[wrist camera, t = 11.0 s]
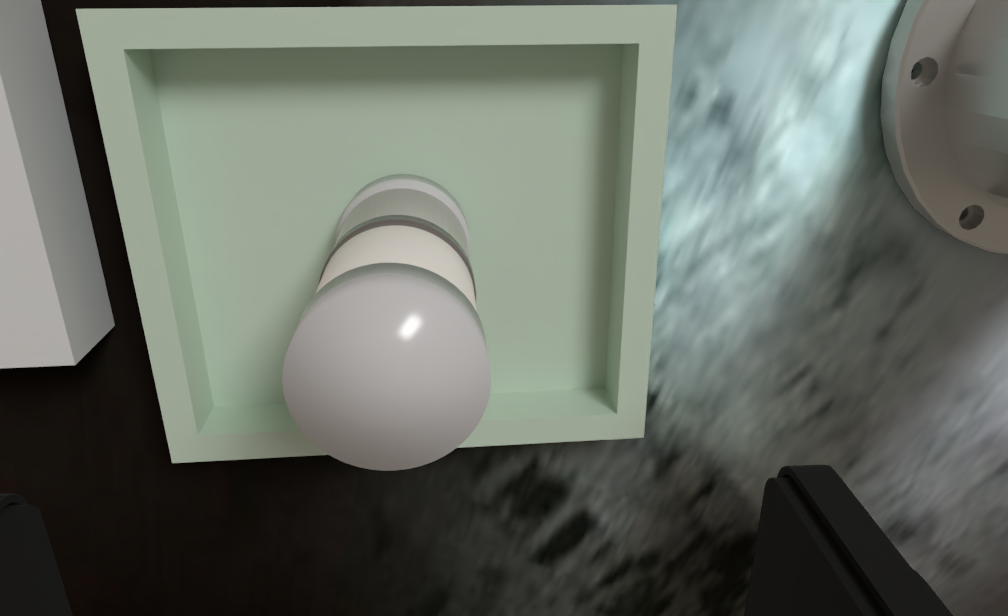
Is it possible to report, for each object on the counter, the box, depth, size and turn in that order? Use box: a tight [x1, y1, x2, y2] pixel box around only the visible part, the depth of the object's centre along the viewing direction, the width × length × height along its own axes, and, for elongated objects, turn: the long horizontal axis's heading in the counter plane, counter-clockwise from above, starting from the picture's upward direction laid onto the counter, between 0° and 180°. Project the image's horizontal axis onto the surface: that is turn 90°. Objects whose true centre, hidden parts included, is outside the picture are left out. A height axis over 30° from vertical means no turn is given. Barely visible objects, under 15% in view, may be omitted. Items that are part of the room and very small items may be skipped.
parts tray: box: [76, 5, 677, 463], centre depth 23 cm, size 16×14×2 cm
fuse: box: [282, 174, 491, 471], centre depth 19 cm, size 4×4×10 cm
